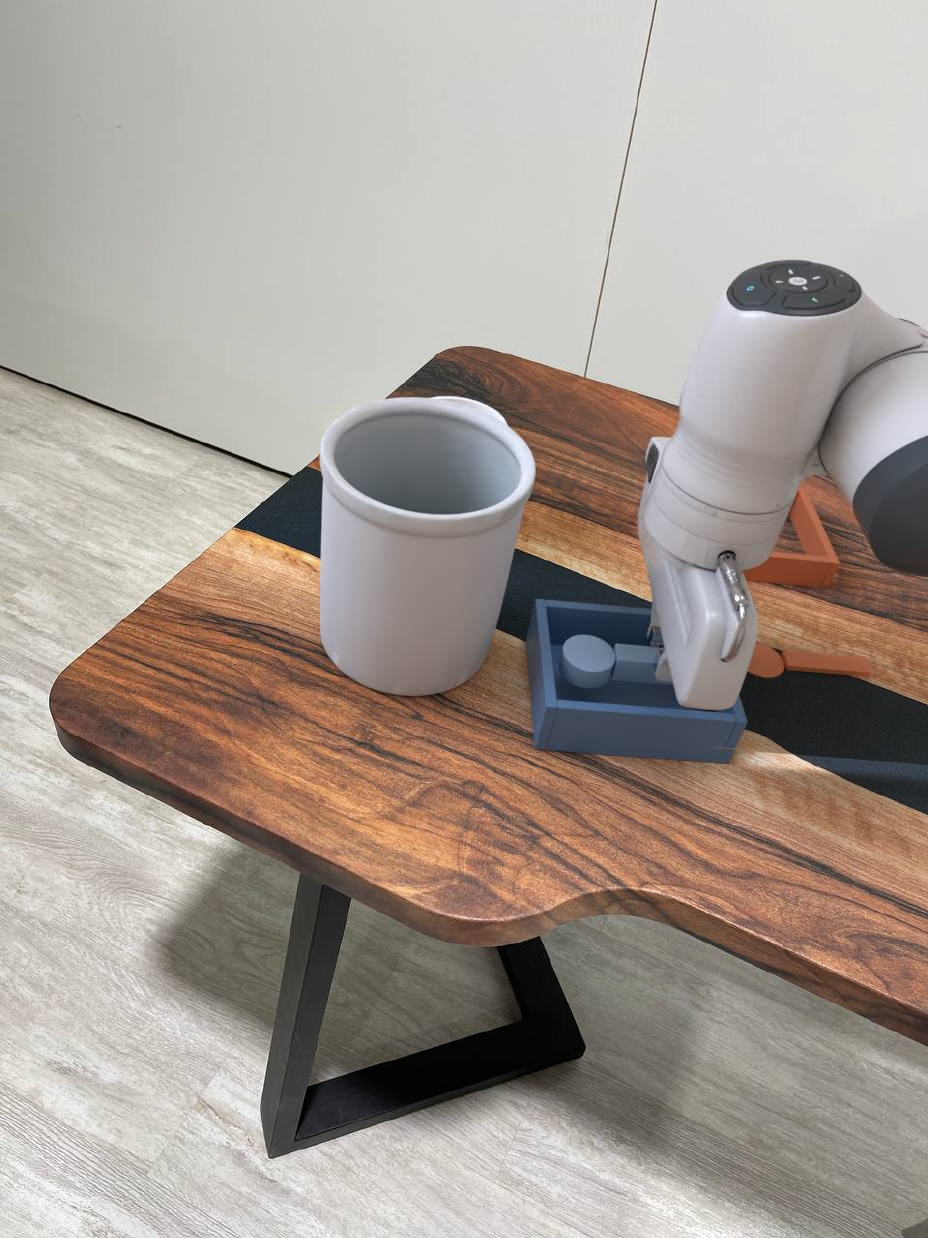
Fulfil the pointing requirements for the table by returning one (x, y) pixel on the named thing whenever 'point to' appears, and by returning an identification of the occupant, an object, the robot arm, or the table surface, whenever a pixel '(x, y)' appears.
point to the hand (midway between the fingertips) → (661, 660)
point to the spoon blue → (606, 662)
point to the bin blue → (615, 695)
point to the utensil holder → (417, 540)
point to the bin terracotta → (797, 567)
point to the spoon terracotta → (804, 663)
